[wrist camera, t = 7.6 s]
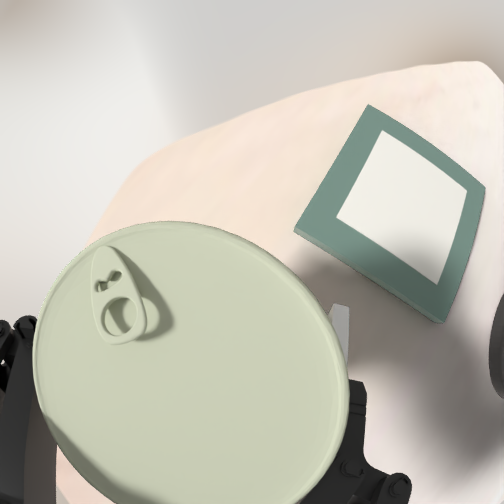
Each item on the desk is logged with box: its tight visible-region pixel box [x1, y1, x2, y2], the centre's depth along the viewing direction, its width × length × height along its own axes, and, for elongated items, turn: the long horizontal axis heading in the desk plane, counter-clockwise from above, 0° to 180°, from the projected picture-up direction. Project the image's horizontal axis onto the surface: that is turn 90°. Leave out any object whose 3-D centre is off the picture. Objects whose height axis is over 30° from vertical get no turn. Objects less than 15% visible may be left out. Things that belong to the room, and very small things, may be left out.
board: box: [293, 104, 485, 323], centre depth 24 cm, size 16×16×2 cm
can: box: [33, 221, 350, 504], centre depth 11 cm, size 9×9×12 cm
